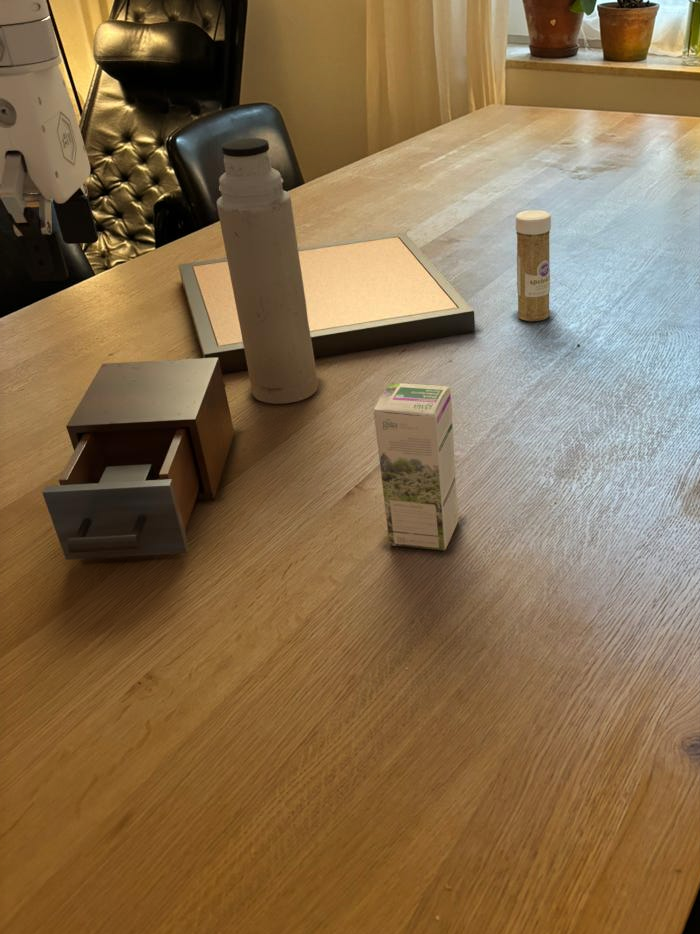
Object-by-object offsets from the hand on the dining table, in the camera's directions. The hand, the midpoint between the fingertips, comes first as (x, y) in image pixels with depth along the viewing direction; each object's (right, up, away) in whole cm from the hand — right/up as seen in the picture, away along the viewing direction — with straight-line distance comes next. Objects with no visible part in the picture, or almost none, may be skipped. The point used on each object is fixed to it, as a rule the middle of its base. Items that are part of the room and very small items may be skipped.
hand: (66, 260), depth 93 cm
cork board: (+15, +13, +53) cm, 57 cm away
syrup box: (+32, -24, +6) cm, 41 cm away
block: (+4, -22, +7) cm, 24 cm away
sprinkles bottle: (+45, +10, +47) cm, 66 cm away
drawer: (+4, -24, +6) cm, 25 cm away
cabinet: (+4, -16, +18) cm, 24 cm away
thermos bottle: (+14, -4, +32) cm, 35 cm away
